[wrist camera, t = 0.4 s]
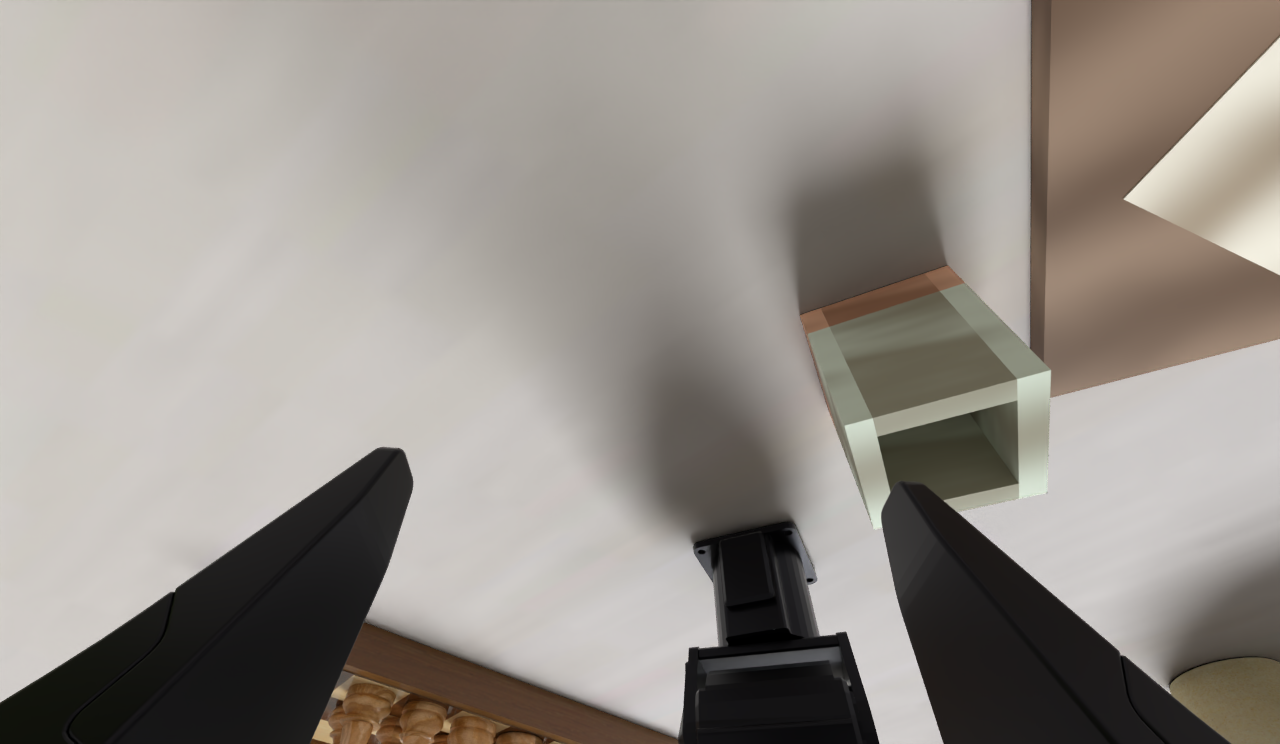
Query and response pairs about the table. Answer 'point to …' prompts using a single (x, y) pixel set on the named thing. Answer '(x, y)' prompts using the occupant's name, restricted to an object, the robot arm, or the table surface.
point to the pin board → (1153, 184)
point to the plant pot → (1235, 698)
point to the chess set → (454, 703)
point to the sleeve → (932, 393)
